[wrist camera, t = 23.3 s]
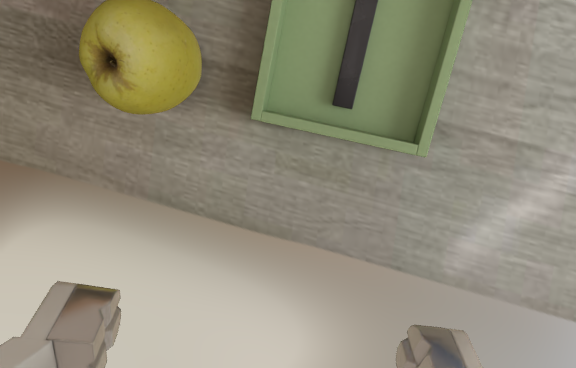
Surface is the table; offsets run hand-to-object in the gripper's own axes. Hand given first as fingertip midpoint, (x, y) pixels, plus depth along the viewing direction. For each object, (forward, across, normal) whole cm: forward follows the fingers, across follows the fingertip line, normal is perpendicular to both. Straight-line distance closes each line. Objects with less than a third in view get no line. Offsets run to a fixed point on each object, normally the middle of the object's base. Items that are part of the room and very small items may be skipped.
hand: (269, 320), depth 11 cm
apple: (+26, +8, +2) cm, 27 cm away
